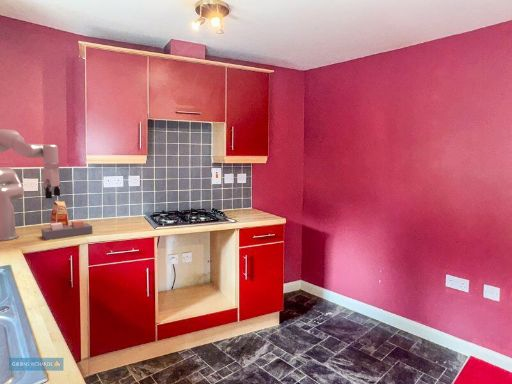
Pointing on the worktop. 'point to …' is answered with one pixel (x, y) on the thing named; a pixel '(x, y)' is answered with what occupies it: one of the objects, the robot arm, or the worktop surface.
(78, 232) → the key block
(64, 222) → the milk carton
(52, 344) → the worktop surface
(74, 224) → the terracotta key
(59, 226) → the ivory key
